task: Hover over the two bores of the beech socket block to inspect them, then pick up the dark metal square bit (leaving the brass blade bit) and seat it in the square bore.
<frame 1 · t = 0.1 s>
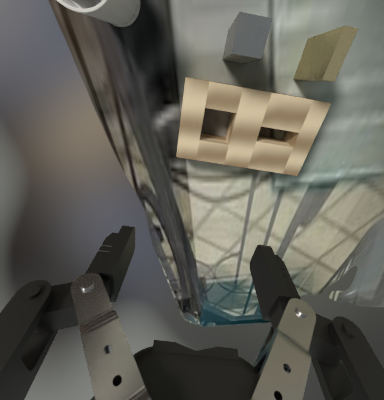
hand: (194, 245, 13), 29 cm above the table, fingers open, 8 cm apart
blade bit: (305, 60, 31), on the table
socket block: (242, 125, 37), on the table
square bit: (236, 47, 31), on the table
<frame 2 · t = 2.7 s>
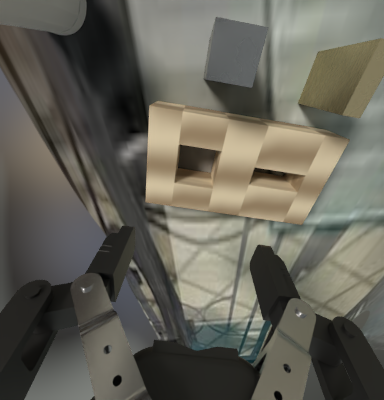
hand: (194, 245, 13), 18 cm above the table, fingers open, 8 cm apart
blade bit: (314, 80, 23), on the table
socket block: (231, 159, 29), on the table
square bit: (221, 63, 23), on the table
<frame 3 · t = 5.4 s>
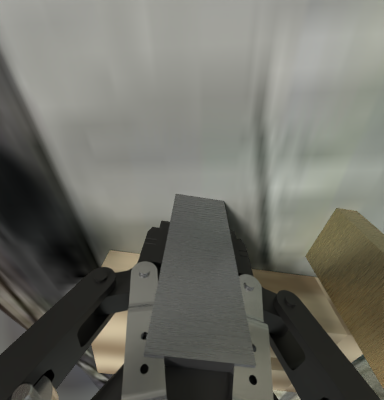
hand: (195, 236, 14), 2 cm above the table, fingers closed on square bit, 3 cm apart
blade bit: (329, 235, 16), on the table
socket block: (215, 302, 22), on the table
square bit: (196, 216, 16), on the table, touching gripper
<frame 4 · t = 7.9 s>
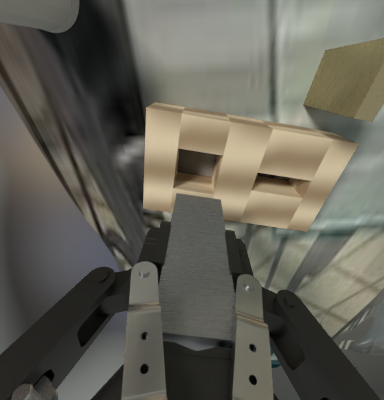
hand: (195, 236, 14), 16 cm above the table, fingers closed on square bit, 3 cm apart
blade bit: (320, 80, 22), on the table
socket block: (233, 163, 28), on the table
square bit: (195, 213, 17), point 12 cm above the table, touching gripper
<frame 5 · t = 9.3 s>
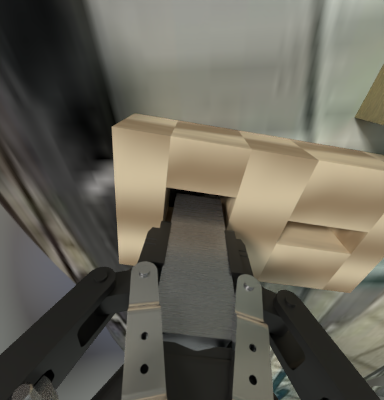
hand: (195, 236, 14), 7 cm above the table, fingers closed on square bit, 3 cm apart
socket block: (246, 196, 20), on the table
square bit: (195, 213, 17), point 3 cm above the table, touching gripper
when the fingers open (6 cm above the table, at t = 10.3 s): square bit drops 2 cm, resting in socket block.
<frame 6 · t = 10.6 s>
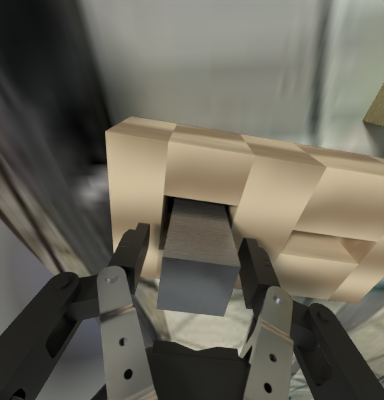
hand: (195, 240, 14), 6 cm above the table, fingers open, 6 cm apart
socket block: (248, 202, 19), on the table
square bit: (195, 199, 19), resting in socket block, tilted 5°
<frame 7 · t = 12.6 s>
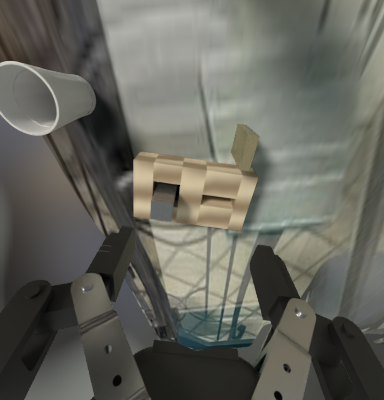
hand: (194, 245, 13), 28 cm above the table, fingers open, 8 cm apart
cup: (77, 96, 35), on the table
blade bit: (238, 139, 37), on the table
socket block: (192, 186, 42), on the table
square bit: (169, 185, 42), resting in socket block
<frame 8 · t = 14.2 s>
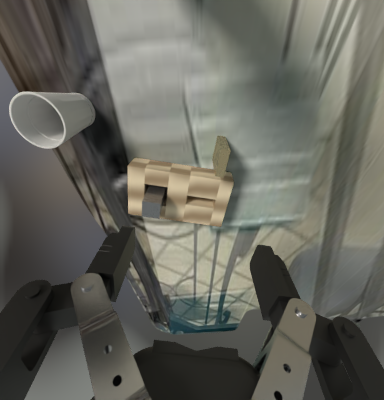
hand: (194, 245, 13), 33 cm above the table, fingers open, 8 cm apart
cup: (79, 110, 40), on the table
blade bit: (218, 148, 43), on the table
socket block: (180, 188, 49), on the table
square bit: (159, 186, 49), resting in socket block
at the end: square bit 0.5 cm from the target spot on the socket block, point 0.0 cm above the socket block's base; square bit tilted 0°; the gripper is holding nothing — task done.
